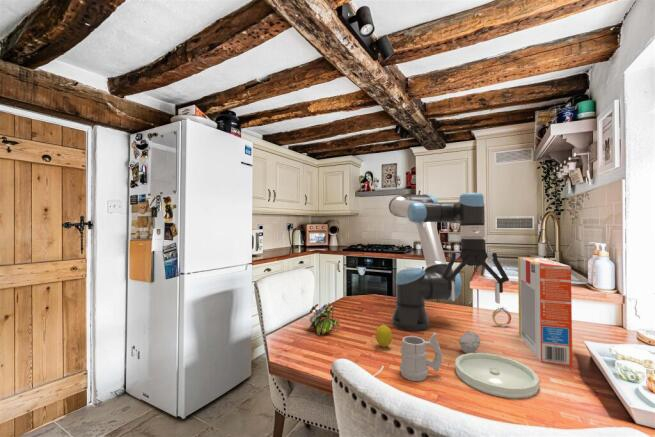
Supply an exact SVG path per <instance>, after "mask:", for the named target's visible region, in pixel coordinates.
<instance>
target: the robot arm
mask: <svg viewBox="0 0 655 437" xmlns="http://www.w3.org/2000/svg"><path fill="white" fill-rule="evenodd" d="M484 198H485V197H484V195H483V193H481V192H465V193H461V194H460V195H459V200H458V201H454V202H453V201H451V202H449V201H448V202H447V201H445V202H443V201H442V202H439V200H438V199H437V198H436V196H434V195H432V194H399V195H396V196H395V197H394V196H393V198H392V199H391V200H390V201H389V203H388V209H389V210H388V211H389V212H390V214H391V215H393V216H394V217H397V218H408V220H409V222H412V223H413V224H415V225H416V228H417V231H418V236H419V239H420V240H419V241H420V245H421V248H422V252H423V257H424V260H425V265H426V267H425V269H423V268H419V267H418V268H414V267H413V268H404V269H401V270H398V272H397V273H396V275H395V276H396V277H395V278H396V279H395V287H396V288H395V290H396V291H395V292H396V293H395V298H396V299H395V300H396V304H395V305H396V306H395V308H394V311H393V315H392V319H391V323H392V325H393V327H395V328H398V329H400V330H403V331H412V332H418V331H419V332H420V331H424V330H428V329H429V328H430V318H429V316H428V313H427V310H426V306H425V305H426V304H425V301H439V300H440V301H441V300H445V301H449V300H451V301H452V302H455V301H456V299H457V298H458V297H459V296H460V294H461V292H462V284H463V281H462V277H461V274H460V271H462V269H463V268H465V267H466V266H469V267H473V266H474V267H475V266H476V267H480V266H482V267H483V268H484V269H485V270H486V271H487V272H488V273H489V274H490V275H491V276H492V277H493V278H494V280H496V282H495V281H494V298H495V299H494V301H495V303H496V304H499V305H500V304H501V301H500V300H501V297H500V294H502V293H503V292H504V287H503V286H504V285H503V284H504V283H505V282H509V281H510V278H509V276H508V274H507V273H506V271H505V270H504V268H503V266H502V265H501V263H500V261H499V260H498V259H499V258H498V255H497V253H496V252H491V253H487V250H486V246H487V245H486V239H485V238H486V226H485V224H486V221H485V217H486V214H485V213H486V212H485V206H486V205H485V199H484ZM436 223H452V224H457V223H460V238H461V239H460V252H454V251H452V252H451V254H450V259H449V261H448V263H447V260H446V256H445V252H444V249H443V245H442V241H441V239H440V235H439V231H438V229H437V228H438V227H437V225H436ZM459 257H460V258H461V260H462V261H460V263H459V264H458V265H457V266H456V267H455V269H454V270H453V268H452V267H453V265H454V263H455V262H456V260H457V259H458V258H459ZM487 258H489V259H490V260H491V261H492V263H493V264H494V266H495V267H496V270H497V271H498V273H496V271H494V270H493V268H491V267H490V265H488V264H487V262H486V260H487ZM499 275H500V276H501V277H500V276H499Z"/></svg>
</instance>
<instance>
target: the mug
mask: <svg viewBox="0 0 655 437" xmlns="http://www.w3.org/2000/svg"><path fill="white" fill-rule="evenodd" d="M437 338H438V337H437V333H436V332H433V333H432V335H431V337H430V338H429V341H428V340H425V339H424V338H422V337H420V336H414V335H407V336H404V337H402V339H401V348H400V353H401V362H400V366H399V370H400V374H401V376H402V377H403V378H404V379H407V380H408V381H411V382H412V381H413V382H422V381H425V380H426V379H427V378H428V373H429V369H428V367H430V368H432V369H433V370H434V371H435V372H437V373H438V372H439V369H440V368H441V366H442V364H443V361H442V360H443V353H442V350H441V348H440V345H439V342H438V339H437ZM426 347H431V348H432V349H433V350H434V358H433V360H430V359H427V354H428V351H427V350H426Z"/></svg>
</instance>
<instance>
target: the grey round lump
mask: <svg viewBox="0 0 655 437" xmlns="http://www.w3.org/2000/svg"><path fill="white" fill-rule="evenodd" d="M480 344H481V338H480V336H479V335H478V334H477V333H475V332H474V331H471V330H468V331H467V332H465V333H464V334H462V335H461V336H460V337H459V339H458V345H460V348H461V350H462V351H463V353H464V354H468V353H477V351H478V348H479V346H480Z"/></svg>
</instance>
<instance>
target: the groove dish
mask: <svg viewBox="0 0 655 437" xmlns="http://www.w3.org/2000/svg"><path fill="white" fill-rule="evenodd" d="M455 373H456V376H457V377H458V378H459V379H460V380H461V381H462V382H464V383H465V384H466V385H468V386H469V387H471V388H474V389H476V390H478V391H479V392H483V393H485V394H488V395H491V396H495V397H496V396H497V397H500V398H505V399H515V400H516V399H518V400H519V399H527V398H531V397H533V396H535V395H537V394H538V392H539V385H540V379H539V377H538V374H537V372H535V371H534V370H533V369H531V368H530V367H529V366H528V365H526V364H524V363H521V362H520V361H517V360H515V359H513V358H509V357H506V356H502V355H499V354H493V353H487V352H475V353H468V354H467V353H464V354H460V355H459V356H458V357H457V358H455Z"/></svg>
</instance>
